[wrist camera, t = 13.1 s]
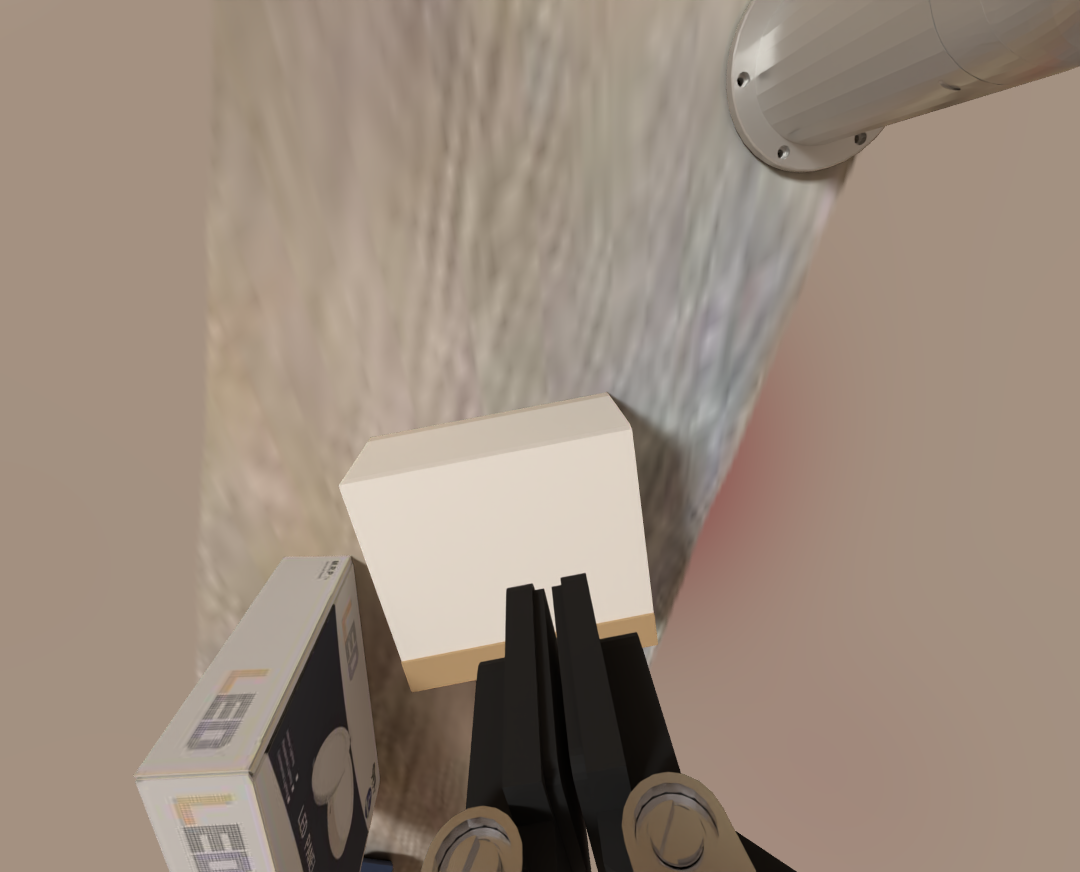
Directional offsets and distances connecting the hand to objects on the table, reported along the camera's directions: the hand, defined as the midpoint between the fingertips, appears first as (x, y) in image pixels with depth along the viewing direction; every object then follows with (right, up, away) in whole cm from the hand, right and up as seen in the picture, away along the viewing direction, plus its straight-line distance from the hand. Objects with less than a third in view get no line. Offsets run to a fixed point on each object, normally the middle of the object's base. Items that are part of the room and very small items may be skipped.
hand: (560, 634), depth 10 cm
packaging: (-21, -21, +40) cm, 50 cm away
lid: (-2, -5, +26) cm, 27 cm away
